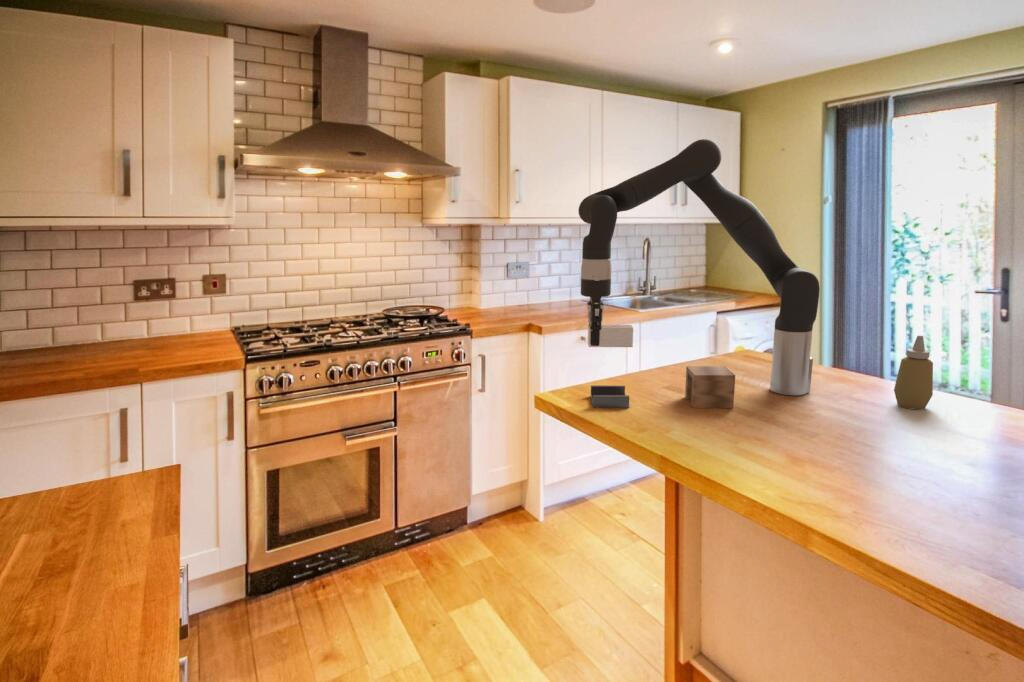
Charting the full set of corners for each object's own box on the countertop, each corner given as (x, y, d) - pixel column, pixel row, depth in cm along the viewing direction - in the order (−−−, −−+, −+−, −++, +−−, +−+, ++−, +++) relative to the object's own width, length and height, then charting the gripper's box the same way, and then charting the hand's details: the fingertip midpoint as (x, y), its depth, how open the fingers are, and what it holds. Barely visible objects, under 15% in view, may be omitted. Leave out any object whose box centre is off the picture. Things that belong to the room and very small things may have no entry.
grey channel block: (624, 396, 164) (624, 385, 163) (629, 408, 154) (629, 396, 153) (590, 396, 164) (590, 385, 164) (593, 407, 155) (593, 396, 154)
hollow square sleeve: (723, 397, 162) (725, 366, 160) (733, 408, 153) (735, 375, 151) (685, 397, 162) (686, 366, 160) (692, 407, 153) (694, 375, 152)
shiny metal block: (630, 343, 158) (630, 324, 157) (632, 347, 154) (633, 327, 153) (587, 343, 159) (588, 324, 157) (588, 347, 155) (589, 327, 154)
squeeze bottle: (936, 412, 147) (946, 339, 144) (900, 410, 149) (908, 338, 145) (921, 402, 155) (931, 333, 151) (887, 400, 157) (895, 332, 153)
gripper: (579, 273, 160) (578, 337, 164) (582, 279, 146) (580, 349, 150) (608, 273, 160) (606, 338, 163) (613, 280, 146) (611, 349, 149)
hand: (594, 343), depth 156 cm, fingers closed on shiny metal block, 4 cm apart
